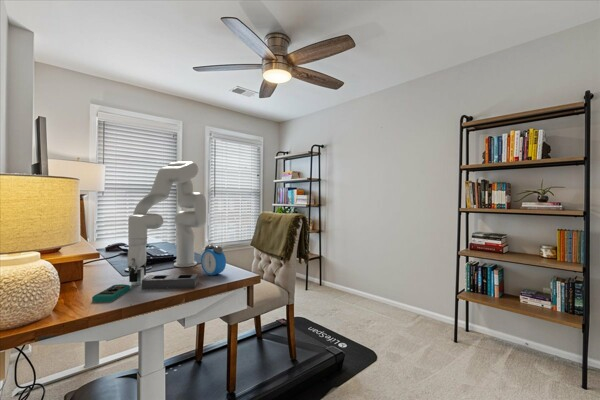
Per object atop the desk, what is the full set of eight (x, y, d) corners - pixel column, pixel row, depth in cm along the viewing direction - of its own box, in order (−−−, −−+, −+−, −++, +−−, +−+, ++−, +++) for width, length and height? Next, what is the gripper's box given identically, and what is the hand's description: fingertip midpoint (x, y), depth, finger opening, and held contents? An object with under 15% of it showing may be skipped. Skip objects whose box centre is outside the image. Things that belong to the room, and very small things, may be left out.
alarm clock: (200, 273, 150) (200, 245, 150) (210, 271, 156) (210, 243, 155) (217, 277, 143) (217, 247, 143) (226, 275, 148) (226, 246, 148)
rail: (148, 283, 132) (148, 275, 132) (198, 282, 136) (198, 273, 136) (141, 289, 125) (141, 280, 124) (194, 287, 128) (194, 278, 128)
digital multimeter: (131, 290, 125) (131, 283, 125) (111, 303, 110) (111, 295, 110) (113, 290, 124) (113, 283, 124) (91, 303, 110) (91, 295, 110)
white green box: (135, 282, 134) (135, 267, 134) (144, 282, 135) (144, 267, 135) (131, 285, 130) (131, 269, 130) (140, 284, 131) (140, 269, 131)
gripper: (136, 238, 140) (136, 273, 141) (120, 245, 123) (120, 284, 124) (153, 238, 141) (153, 273, 142) (138, 244, 124) (138, 284, 125)
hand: (137, 278), depth 133 cm, fingers open, 9 cm apart
